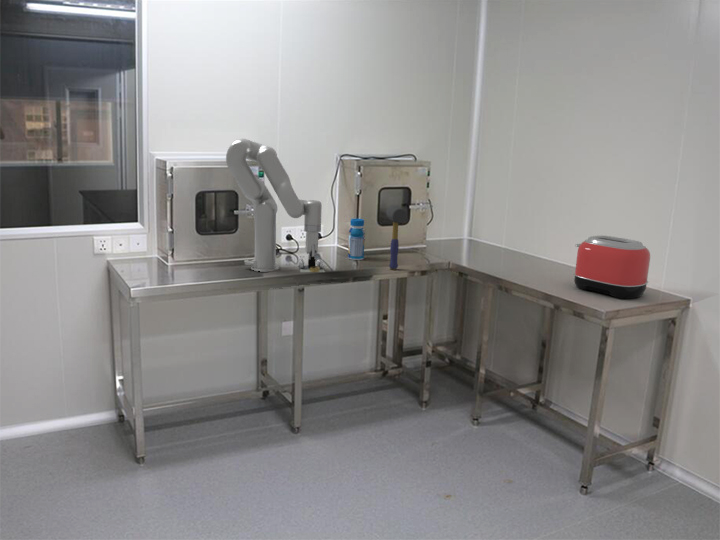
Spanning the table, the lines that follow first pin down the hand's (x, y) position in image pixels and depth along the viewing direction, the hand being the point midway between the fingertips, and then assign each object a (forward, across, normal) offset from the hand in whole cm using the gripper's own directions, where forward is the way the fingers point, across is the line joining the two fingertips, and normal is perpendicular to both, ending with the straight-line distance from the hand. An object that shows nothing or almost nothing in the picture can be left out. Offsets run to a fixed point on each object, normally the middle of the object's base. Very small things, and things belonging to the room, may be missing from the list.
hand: (311, 267), depth 300 cm
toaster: (+2, +40, +124) cm, 130 cm away
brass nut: (+1, +4, +1) cm, 4 cm away
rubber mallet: (+2, -2, +39) cm, 39 cm away
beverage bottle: (+2, -26, +25) cm, 36 cm away
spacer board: (+1, 0, 0) cm, 1 cm away
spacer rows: (+1, -4, 0) cm, 4 cm away
